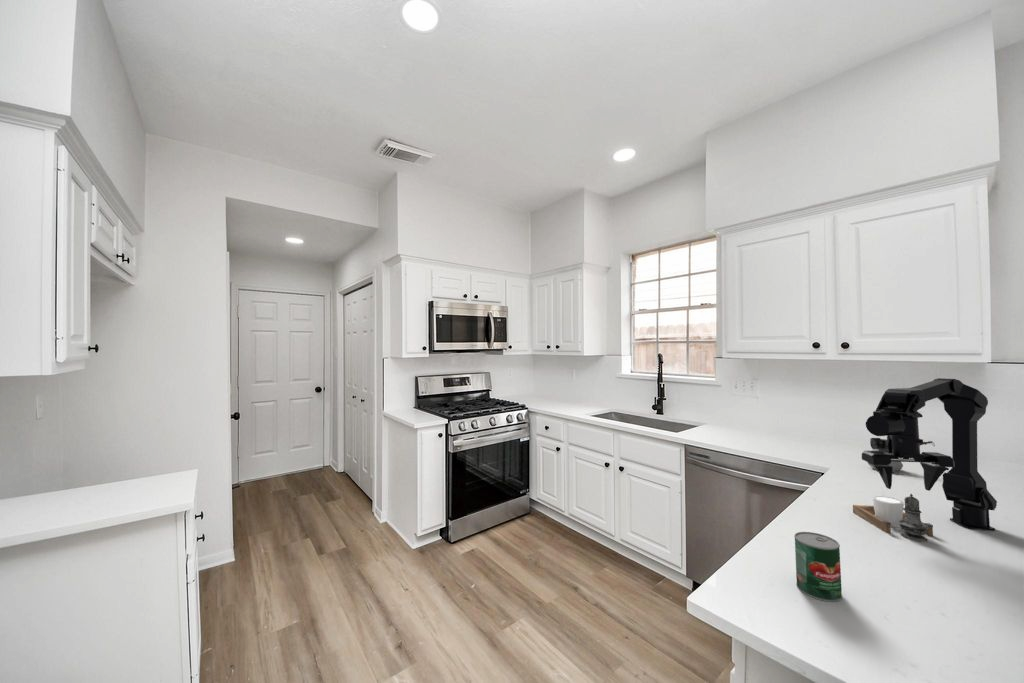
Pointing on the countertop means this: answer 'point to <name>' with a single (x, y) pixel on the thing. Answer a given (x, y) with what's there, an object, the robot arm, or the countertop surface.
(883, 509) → the white tapered cup
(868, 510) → the wooden stand
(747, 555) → the countertop surface
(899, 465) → the coffee pot
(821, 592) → the canned tomato
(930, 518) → the countertop surface
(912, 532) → the salt shaker
